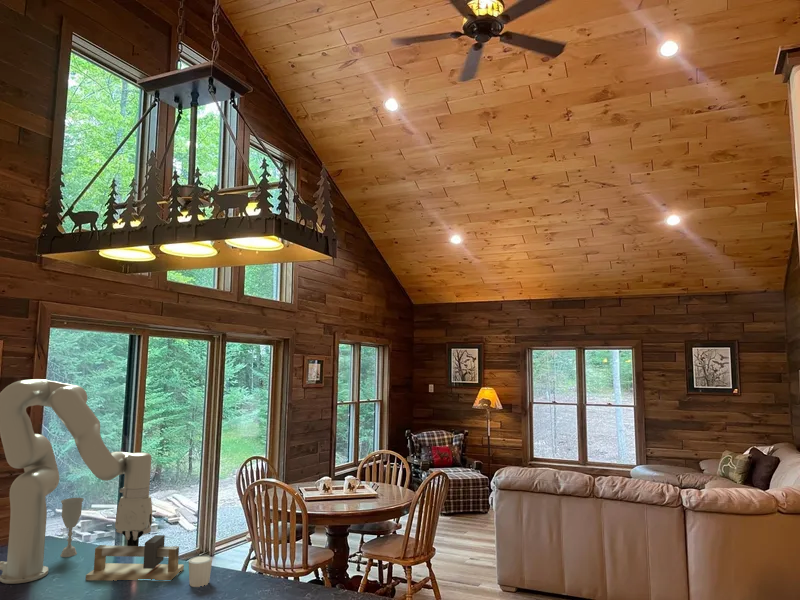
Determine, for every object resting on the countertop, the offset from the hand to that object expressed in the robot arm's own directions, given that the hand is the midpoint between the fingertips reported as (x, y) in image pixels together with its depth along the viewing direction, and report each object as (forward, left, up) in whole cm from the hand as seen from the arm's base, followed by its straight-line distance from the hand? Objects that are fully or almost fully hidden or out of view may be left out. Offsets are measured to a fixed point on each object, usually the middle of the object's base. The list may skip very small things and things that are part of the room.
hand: (132, 551), depth 182 cm
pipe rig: (+3, -3, -6) cm, 7 cm away
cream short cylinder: (+25, -9, -6) cm, 27 cm away
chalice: (-28, +14, -6) cm, 32 cm away
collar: (+8, -3, -3) cm, 9 cm away
